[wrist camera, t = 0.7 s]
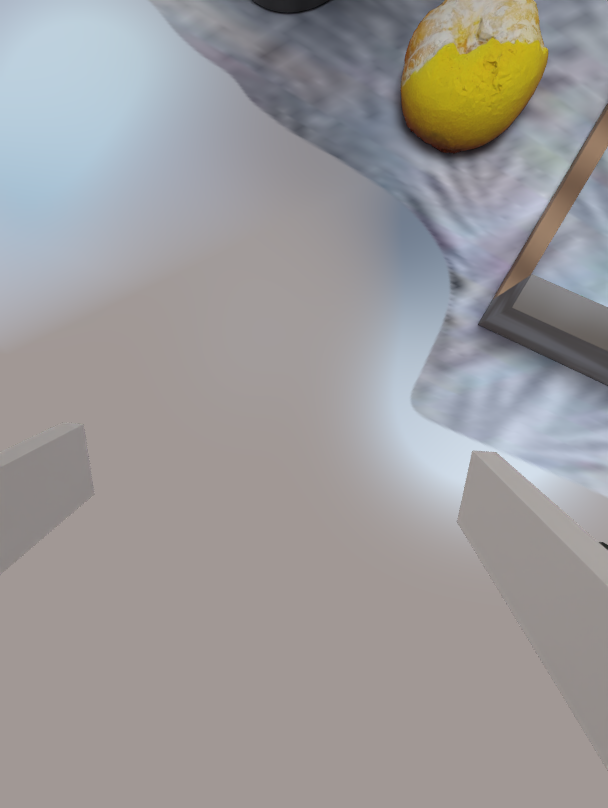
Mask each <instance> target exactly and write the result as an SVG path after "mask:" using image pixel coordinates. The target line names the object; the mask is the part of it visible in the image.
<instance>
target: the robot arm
mask: <svg viewBox="0 0 608 808" xmlns="http://www.w3.org/2000/svg"><path fill="white" fill-rule="evenodd" d="M253 1H254V2H256V3H257V4H259V5H261V6H263V7H265V8H267V9H270V10H274V11H278V12H298V11H304V10H308V9H311V8H314V7H316V6H319V5H321V4H323V3H325V2H327V1H328V0H253ZM93 495H94V489H93V482H92V476H91V469H90V463H89V456H88V449H87V442H86V436H85V429H84V424H76V423H60V424H58V425H56V426H54V427H52V428H50V429H47V430H46V431H43V432H41V433H39V434H37V435H35V436H32V437H30V438H28V439H26V440H24V441H22V442H20V443H18V444H15V445H13V446H11V447H9V448H7V449H5V450H3V451H1V452H0V574H2V573H3V572H4V571H5V570H6V569H8V568H9V567H10V566H11V565H12V564H13V563H14V562H16V561H17V560H18V559H19V558H20V557H22V556H23V555H24V554H25V553H26V552H27V551H29V550H30V549H31V548H32V547H33V546H35V545H36V544H37V543H38V542H39V541H40V540H41V539H43V538H44V537H45V536H46V535H47V534H49V533H50V532H51V531H52V530H53V529H54V528H55V527H57V526H58V525H59V524H60V523H61V522H63V521H64V520H65V519H66V518H67V517H68V516H70V515H71V514H72V513H73V512H74V511H75V510H77V509H78V508H79V507H80V506H81V505H82V504H84V503H85V502H86V501H87V500H88V499H90V498H91V497H92V496H93ZM457 523H458V524H459V526H460V528H461V529H462V531H463V533H464V534H465V536H466V538H467V539H468V541H469V543H470V544H471V546H472V548H473V549H474V551H475V552H476V554H477V556H478V557H479V559H480V561H481V562H482V564H483V566H484V567H485V569H486V571H487V572H488V574H489V576H490V577H491V579H492V580H493V582H494V584H495V585H496V587H497V589H498V590H499V592H500V593H501V595H502V597H503V599H504V600H505V602H506V604H507V605H508V607H509V609H510V610H511V612H512V613H513V615H514V617H515V619H516V620H517V622H518V623H519V625H520V627H521V628H522V630H523V632H524V633H525V635H526V636H527V638H528V640H529V642H530V643H531V645H532V647H533V648H534V650H535V652H536V653H537V655H538V657H539V658H540V660H541V661H542V663H543V665H544V666H545V668H546V670H547V671H548V673H549V675H550V676H551V678H552V680H553V681H554V683H555V684H556V686H557V688H558V689H559V691H560V693H561V694H562V696H563V698H564V699H565V701H566V703H567V704H568V706H569V708H570V709H571V711H572V713H573V714H574V716H575V718H576V719H577V721H578V723H579V724H580V726H581V728H582V729H583V731H584V733H585V734H586V736H587V737H588V739H589V741H590V742H591V744H592V746H593V747H594V749H595V751H596V752H597V754H598V756H599V757H600V759H601V760H602V762H603V764H604V765H605V767H606V769H607V770H608V545H607V544H605V543H603V542H598V541H597V540H595V539H594V538H593V537H592V536H591V535H590V534H589V533H587V532H586V531H585V530H584V529H583V528H582V527H581V526H580V525H578V524H577V523H576V522H575V521H574V520H572V519H571V518H570V517H569V516H568V515H567V514H566V513H565V512H563V511H562V510H561V509H560V508H559V507H558V506H557V505H556V504H554V503H553V502H552V501H551V500H550V499H549V498H548V497H547V496H545V495H544V494H543V493H542V492H541V491H540V490H539V489H537V488H536V487H535V486H534V485H533V484H532V483H531V482H529V481H528V480H527V479H526V478H525V477H524V476H522V475H521V474H520V473H519V472H518V471H517V470H516V469H515V468H514V467H512V466H511V465H510V464H509V463H508V462H507V461H506V460H504V459H503V458H502V457H501V456H500V455H499V454H497V453H496V452H485V451H472V455H471V460H470V464H469V469H468V474H467V479H466V483H465V487H464V493H463V497H462V501H461V506H460V510H459V515H458V520H457Z"/></svg>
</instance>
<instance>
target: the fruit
mask: <svg viewBox="0 0 608 808" xmlns="http://www.w3.org/2000/svg"><path fill="white" fill-rule="evenodd" d="M536 5H537V4H536V2H535V1H533V0H445V1H444V2H443V3H442V4H441V5H440V6H438V7H437V8H436V9H433V10H431V11H429V13H428V14H427V15H426V16H425V17H424V18H423V20H422V21H421V22H420V23H419V25H418V27H417V29H416V30H415V31H414V33H413V36H412V38H411V40H410V42H409V45H408V48H407V52H406V56H405V66H404V69H403V74H402V79H401V103H402V110H403V115H404V117H405V121H406V124H407V126H408V128H410V130H411V132H412V131H413V132H414V133H415V134H416V135H417V137H420V138H421V139H422V140H423V141H424V142H425V143H428V144H431V145H432V146H433V147H434V148H436V149H437V150H439V151H441V152H445V153H453V154H454V153H457V152H460V151H465V150H470V149H475V148H477V147H480V146H482V145H485V144H486V143H488V142H490V141H492V140H494V139H495V138H496V137H498V136H499V135H500V134H501V133H503V132H504V131H505V130H506V129H507V128H508V127H509V126H510V125H511V124H512V123H513V121H514V120H515V119H516V118H517V117H518V115H519V114H520V113H521V111H522V110H523V109H524V107H525V106H526V105H527V103H528V101H529V100H530V98H531V97H532V95H533V94H534V92H535V90H536V88H537V86H538V84H539V82H540V80H541V78H542V76H543V73H544V70H545V67H546V64H547V59H548V49H547V48H546V47H544V43H543V39H542V36H541V31H540V27H539V16H538V9H537V6H536Z"/></svg>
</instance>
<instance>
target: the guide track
mask: <svg viewBox="0 0 608 808" xmlns="http://www.w3.org/2000/svg"><path fill="white" fill-rule="evenodd" d="M607 146H608V104H607V105H606V107H605V109H604V110H603V112H602V114H601V116H600V117H599V119H598V121H597V122H596V124H595V126H594V127H593V129H592V131H591V133H590V134H589V136H588V138H587V139H586V141H585V143H584V145H583V146H582V148H581V150H580V151H579V153H578V155H577V156H576V158H575V160H574V162H573V163H572V165H571V167H570V168H569V170H568V172H567V174H566V175H565V177H564V179H563V180H562V182H561V184H560V185H559V187H558V189H557V191H556V192H555V194H554V196H553V197H552V199H551V201H550V202H549V204H548V206H547V208H546V209H545V211H544V213H543V214H542V216H541V218H540V220H539V221H538V223H537V225H536V226H535V228H534V230H533V231H532V233H531V235H530V237H529V238H528V240H527V242H526V243H525V245H524V247H523V249H522V250H521V252H520V254H519V255H518V257H517V259H516V260H515V262H514V264H513V266H512V267H511V269H510V271H509V272H508V274H507V276H506V278H505V279H504V281H503V283H502V284H501V286H500V288H499V289H498V291H497V293H496V295H495V296H494V298H493V300H492V301H491V303H490V305H489V306H488V308H487V310H486V312H485V313H484V315H483V317H482V318H481V320H480V322H479V324H478V325H480V326H482V327H484V328H486V329H488V330H491V331H493V332H495V333H497V334H499V335H501V336H503V337H505V338H508V339H510V340H512V341H514V342H516V343H518V344H520V345H522V346H525V347H527V348H529V349H531V350H533V351H535V352H537V353H539V354H542V355H544V356H546V357H548V358H550V359H552V360H554V361H556V362H559V363H561V364H563V365H565V366H567V367H569V368H571V369H573V370H576V371H578V372H580V373H582V374H584V375H586V376H588V377H590V378H593V379H595V380H597V381H599V382H601V383H603V384H605V385H607V386H608V307H605V306H603V305H601V304H599V303H596V302H594V301H592V300H589V299H587V298H585V297H583V296H580V295H578V294H576V293H573V292H571V291H569V290H567V289H564V288H562V287H560V286H557V285H555V284H553V283H551V282H548V281H546V280H544V279H542V278H539V277H537V276H535V275H532V274H531V273H532V272H533V270H534V268H535V267H536V265H537V263H538V262H539V260H540V258H541V257H542V255H543V253H544V252H545V250H546V248H547V247H548V245H549V243H550V242H551V240H552V238H553V237H554V235H555V233H556V232H557V230H558V228H559V227H560V225H561V223H562V222H563V220H564V218H565V217H566V215H567V213H568V212H569V210H570V208H571V207H572V205H573V203H574V202H575V200H576V198H577V197H578V195H579V193H580V192H581V190H582V188H583V187H584V185H585V183H586V182H587V180H588V178H589V177H590V175H591V173H592V172H593V170H594V168H595V167H596V165H597V163H598V161H599V160H600V158H601V156H602V155H603V153H604V151H605V150H606V148H607Z"/></svg>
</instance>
